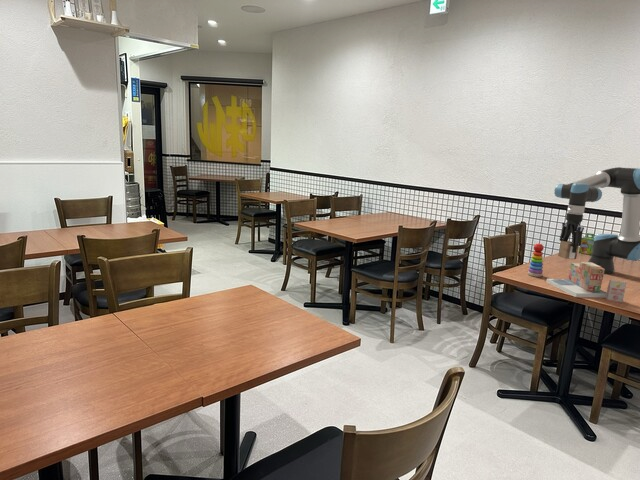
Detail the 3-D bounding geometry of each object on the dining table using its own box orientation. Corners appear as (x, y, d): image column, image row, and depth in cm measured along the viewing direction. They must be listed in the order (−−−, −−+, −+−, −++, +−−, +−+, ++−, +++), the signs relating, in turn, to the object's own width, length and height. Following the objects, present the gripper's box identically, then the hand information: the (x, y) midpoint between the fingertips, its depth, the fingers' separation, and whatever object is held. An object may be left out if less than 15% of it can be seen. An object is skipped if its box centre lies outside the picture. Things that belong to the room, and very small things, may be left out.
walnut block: (568, 256, 237) (571, 241, 235) (576, 259, 231) (579, 244, 229) (558, 255, 236) (560, 241, 234) (565, 258, 230) (568, 243, 228)
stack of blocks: (568, 278, 244) (572, 257, 242) (579, 279, 244) (583, 258, 241) (587, 291, 223) (591, 267, 221) (600, 292, 223) (605, 268, 220)
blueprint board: (576, 282, 245) (577, 278, 245) (608, 297, 222) (609, 293, 222) (546, 282, 243) (546, 278, 243) (575, 297, 220) (576, 292, 219)
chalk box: (578, 253, 323) (582, 233, 320) (580, 251, 330) (583, 231, 327) (593, 255, 317) (597, 235, 314) (594, 253, 325) (598, 233, 321)
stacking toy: (541, 274, 258) (546, 243, 254) (543, 278, 251) (548, 245, 247) (526, 272, 261) (531, 241, 257) (528, 276, 253) (533, 244, 249)
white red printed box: (605, 298, 221) (609, 278, 219) (621, 301, 218) (625, 281, 216) (606, 300, 218) (610, 280, 216) (622, 303, 215) (626, 283, 213)
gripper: (556, 210, 237) (549, 252, 242) (581, 216, 219) (572, 261, 224) (569, 210, 238) (562, 252, 243) (595, 216, 220) (586, 261, 225)
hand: (567, 256), depth 233 cm, fingers closed on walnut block, 6 cm apart
